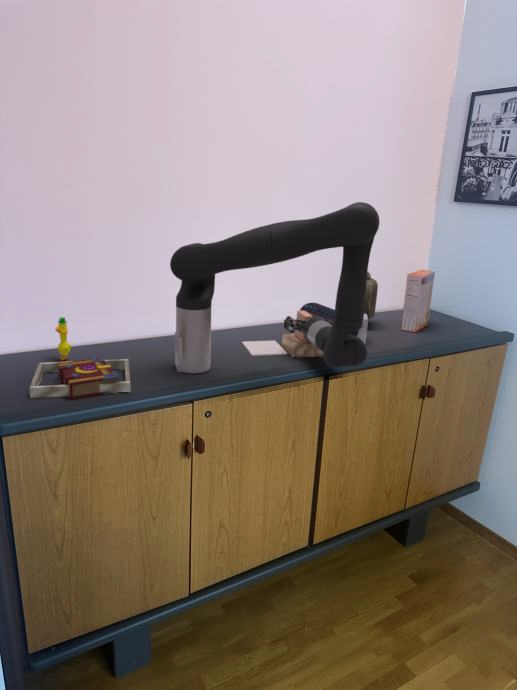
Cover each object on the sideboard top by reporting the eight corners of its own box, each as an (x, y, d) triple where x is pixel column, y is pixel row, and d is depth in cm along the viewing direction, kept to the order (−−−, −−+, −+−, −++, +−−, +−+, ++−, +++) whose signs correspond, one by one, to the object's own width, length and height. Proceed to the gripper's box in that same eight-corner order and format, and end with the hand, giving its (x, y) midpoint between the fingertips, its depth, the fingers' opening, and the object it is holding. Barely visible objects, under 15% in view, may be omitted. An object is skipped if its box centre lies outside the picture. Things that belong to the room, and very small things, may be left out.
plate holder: (293, 357, 150) (294, 344, 149) (281, 346, 160) (282, 334, 159) (322, 356, 153) (323, 343, 152) (309, 345, 163) (310, 333, 162)
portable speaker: (292, 328, 181) (294, 301, 178) (315, 325, 186) (317, 299, 183) (336, 349, 161) (338, 318, 158) (360, 345, 165) (363, 315, 162)
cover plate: (302, 355, 153) (305, 316, 150) (294, 347, 160) (297, 310, 156) (309, 354, 154) (312, 316, 150) (301, 347, 160) (304, 310, 157)
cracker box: (412, 322, 197) (420, 269, 190) (428, 325, 193) (436, 271, 187) (399, 330, 186) (406, 273, 179) (415, 333, 182) (423, 275, 176)
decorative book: (70, 402, 115) (68, 381, 113) (56, 378, 128) (54, 359, 126) (120, 393, 121) (119, 374, 119) (101, 371, 134) (101, 353, 132)
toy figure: (52, 357, 141) (49, 315, 138) (65, 354, 144) (62, 313, 140) (62, 363, 137) (59, 320, 133) (75, 361, 139) (72, 318, 135)
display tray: (30, 398, 115) (29, 388, 114) (40, 371, 130) (39, 362, 130) (130, 392, 120) (130, 382, 120) (128, 367, 136) (128, 358, 135)
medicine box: (365, 345, 166) (368, 319, 163) (351, 343, 167) (354, 318, 164) (364, 338, 173) (367, 313, 171) (351, 337, 174) (354, 312, 171)
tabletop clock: (346, 319, 196) (352, 254, 189) (370, 321, 195) (377, 256, 188) (347, 329, 183) (354, 260, 175) (372, 332, 182) (381, 261, 174)
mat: (252, 356, 150) (252, 354, 150) (241, 342, 162) (242, 341, 162) (287, 354, 153) (287, 353, 153) (274, 341, 165) (275, 340, 165)
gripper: (345, 320, 142) (323, 306, 157) (297, 321, 139) (279, 307, 153) (342, 345, 145) (321, 329, 159) (295, 347, 141) (278, 331, 156)
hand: (300, 318), depth 156 cm, fingers open, 8 cm apart
